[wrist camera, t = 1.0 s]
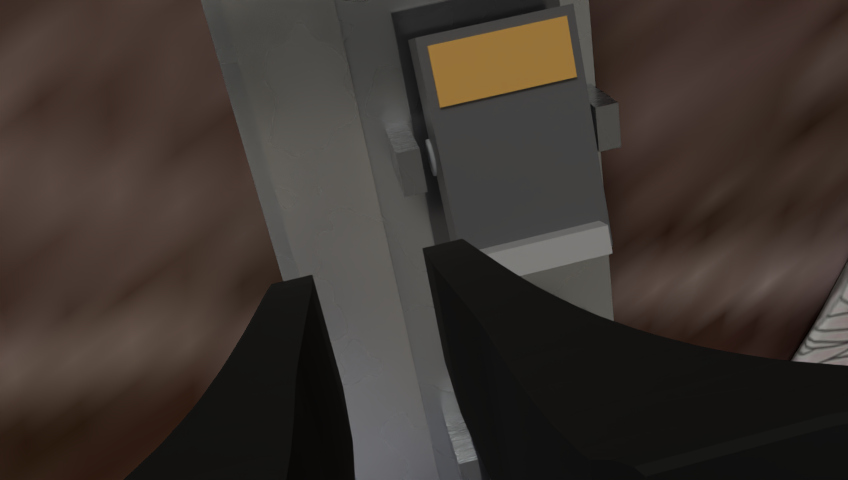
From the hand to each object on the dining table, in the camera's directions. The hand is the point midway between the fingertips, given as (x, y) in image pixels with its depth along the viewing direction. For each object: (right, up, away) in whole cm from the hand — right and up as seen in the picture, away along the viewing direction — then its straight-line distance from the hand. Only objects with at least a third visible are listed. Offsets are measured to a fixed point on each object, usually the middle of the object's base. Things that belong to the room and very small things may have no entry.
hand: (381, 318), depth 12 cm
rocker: (+2, +3, +5) cm, 7 cm away
